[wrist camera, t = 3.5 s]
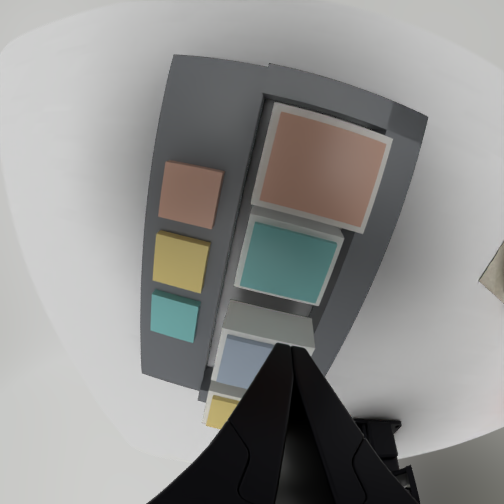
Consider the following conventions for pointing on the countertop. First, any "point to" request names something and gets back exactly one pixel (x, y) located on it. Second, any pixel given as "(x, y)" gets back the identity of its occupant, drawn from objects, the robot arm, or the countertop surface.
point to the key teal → (287, 256)
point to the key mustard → (221, 403)
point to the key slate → (255, 340)
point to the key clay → (320, 168)
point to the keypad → (229, 198)
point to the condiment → (495, 275)
